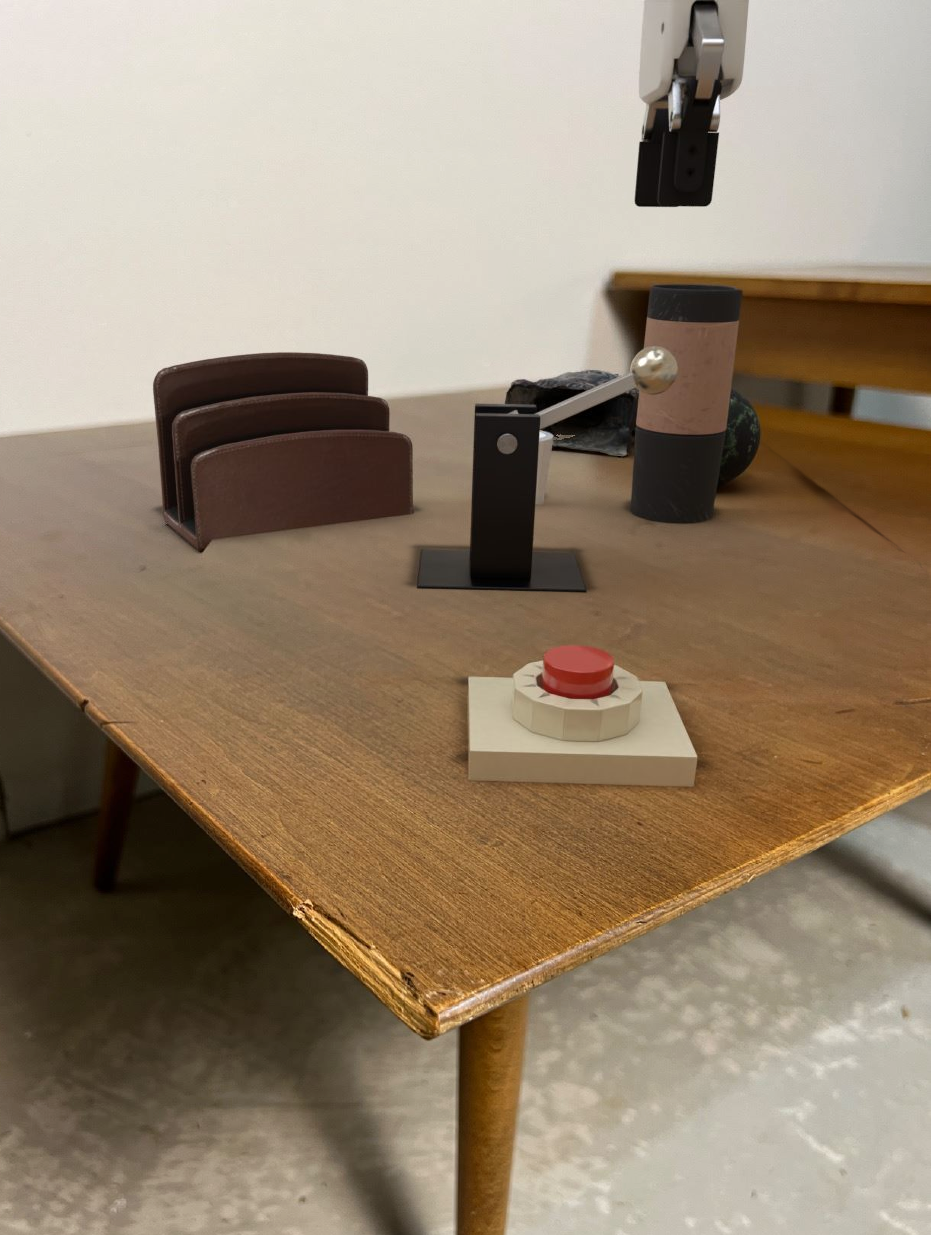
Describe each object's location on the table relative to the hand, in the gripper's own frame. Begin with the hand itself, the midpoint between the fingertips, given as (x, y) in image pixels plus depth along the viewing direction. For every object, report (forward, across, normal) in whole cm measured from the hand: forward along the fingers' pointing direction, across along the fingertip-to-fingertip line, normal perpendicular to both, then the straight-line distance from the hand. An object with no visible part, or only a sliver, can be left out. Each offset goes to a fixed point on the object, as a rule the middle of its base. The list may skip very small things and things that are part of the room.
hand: (670, 205), depth 69 cm
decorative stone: (+26, +33, -12) cm, 44 cm away
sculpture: (+26, +62, -5) cm, 67 cm away
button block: (+26, -26, +7) cm, 37 cm away
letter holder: (+26, +15, +28) cm, 41 cm away
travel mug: (+26, +18, -6) cm, 32 cm away
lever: (+14, 0, +4) cm, 15 cm away
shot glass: (+26, +22, +8) cm, 35 cm away
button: (+23, -26, +7) cm, 35 cm away
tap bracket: (+26, 0, +10) cm, 28 cm away
